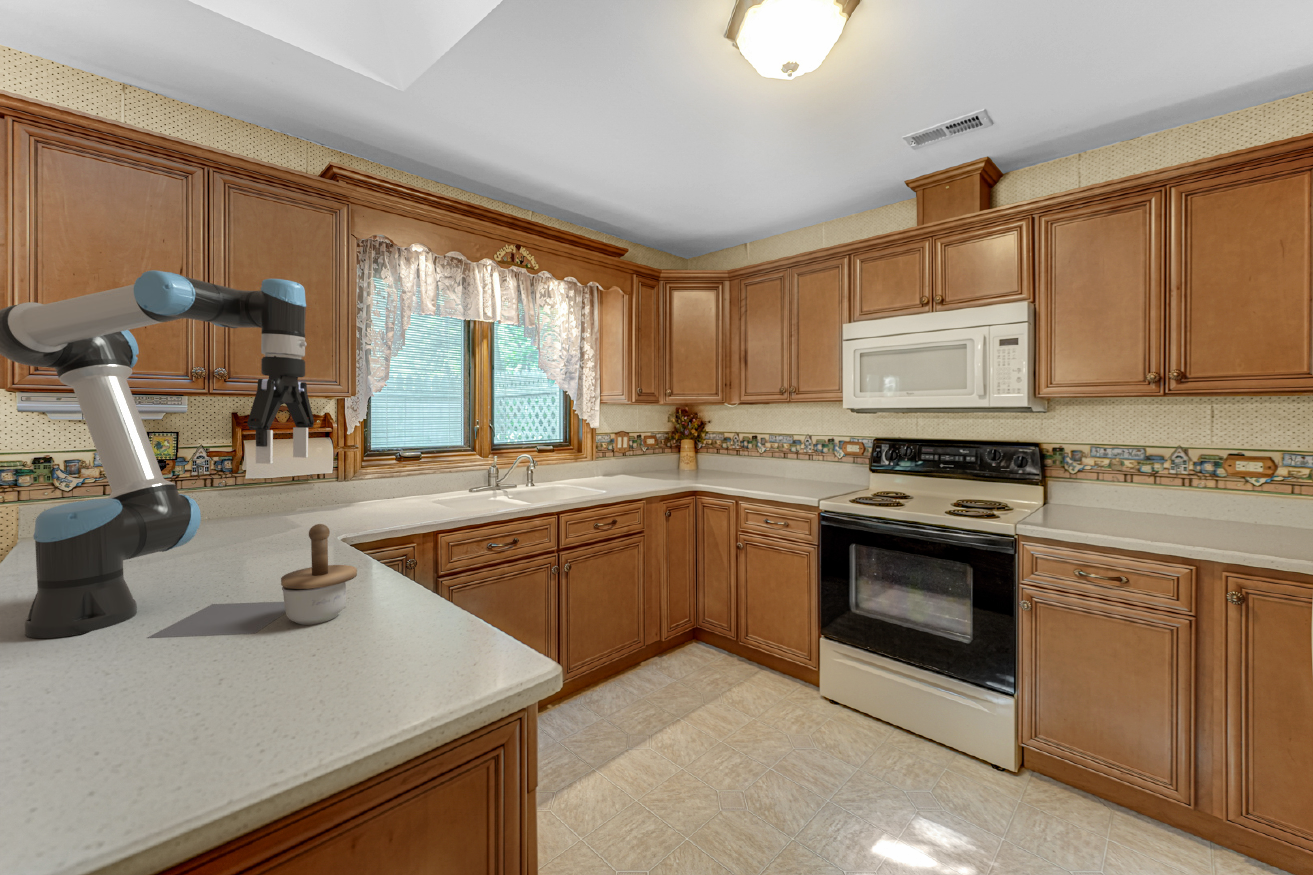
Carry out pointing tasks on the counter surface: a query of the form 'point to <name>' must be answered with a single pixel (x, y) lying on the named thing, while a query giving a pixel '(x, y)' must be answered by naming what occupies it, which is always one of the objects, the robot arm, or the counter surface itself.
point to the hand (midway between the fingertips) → (283, 460)
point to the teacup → (314, 603)
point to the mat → (225, 620)
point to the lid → (319, 565)
